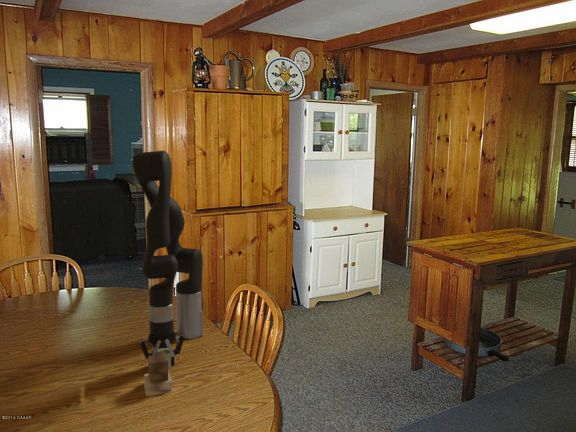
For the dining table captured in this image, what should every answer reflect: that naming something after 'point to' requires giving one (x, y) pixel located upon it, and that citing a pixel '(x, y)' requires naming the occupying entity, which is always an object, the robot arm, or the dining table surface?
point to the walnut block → (158, 368)
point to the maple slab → (157, 385)
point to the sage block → (168, 354)
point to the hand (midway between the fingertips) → (162, 367)
